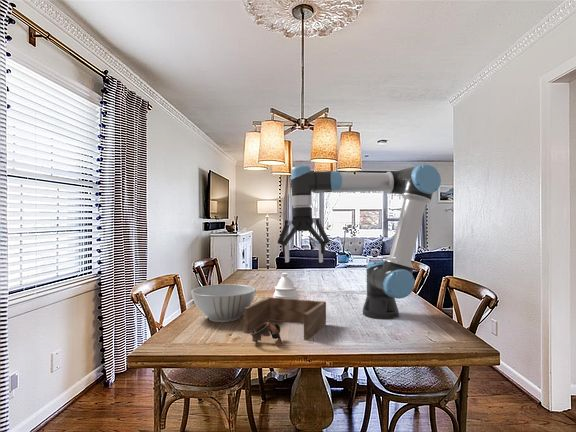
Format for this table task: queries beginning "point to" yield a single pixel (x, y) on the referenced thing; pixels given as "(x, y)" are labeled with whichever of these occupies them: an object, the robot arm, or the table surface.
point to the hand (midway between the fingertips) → (304, 262)
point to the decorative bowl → (223, 300)
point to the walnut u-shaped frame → (286, 314)
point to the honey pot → (285, 288)
